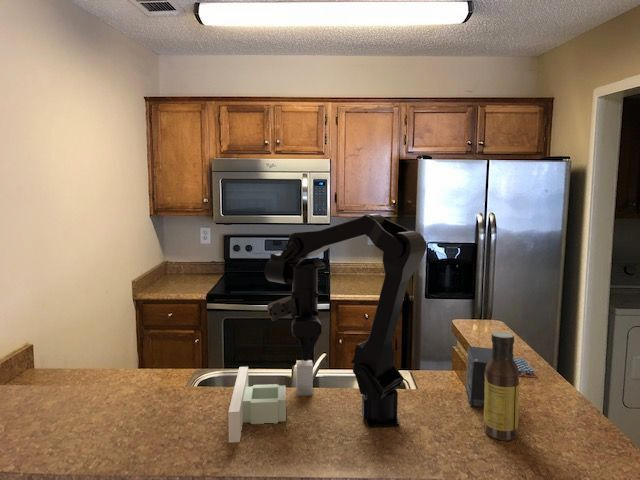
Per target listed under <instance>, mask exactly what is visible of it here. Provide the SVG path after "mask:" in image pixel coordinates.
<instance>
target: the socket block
mask: <svg viewBox="0 0 640 480" xmlns="http://www.w3.org/2000/svg"><path fill="white" fill-rule="evenodd" d="M286 387H287V385H279V384H278V383H277V384H276V383H274V384H268V383H267V384H253V386H249V385H248V387H246V388H245V393H244V398H243V423H250V425H265V424H264V423H274V424H279V422H286V421H287V420H286V419H287V413H286V412H287V409H286V408H287V401H286V400H287V391H286V390H287V388H286Z"/></svg>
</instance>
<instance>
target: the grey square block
mask: <svg viewBox="0 0 640 480" xmlns="http://www.w3.org/2000/svg"><path fill="white" fill-rule="evenodd" d="M313 376H314V363H313V359H309V360H308V361H304V360H303V359H301V360H297V359H296V396H299V397H300V396H301V397H302V396H313V395H314V393H313V391H314V390H313V388H314V387H313V385H314V382H313V381H314V377H313Z"/></svg>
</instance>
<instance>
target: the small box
mask: <svg viewBox="0 0 640 480" xmlns="http://www.w3.org/2000/svg"><path fill="white" fill-rule="evenodd" d="M491 358H492V347H490V348H489V347H481V346H470V345H469V346H468V345H467V363H466V379H465V392H466V395H467V400H468V404H469V407H470V408H479V409H484V386H485V369H486V364H487V363H488V362H489V360H490V359H491Z"/></svg>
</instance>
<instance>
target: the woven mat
mask: <svg viewBox="0 0 640 480" xmlns="http://www.w3.org/2000/svg"><path fill="white" fill-rule="evenodd" d="M513 360H514V362H515V363H516V365H517V367H518V369H519V377H525V378H526V377H531V378H536V377H537V376H536V370H534V368H533V367H532V366H531V365H530V364H529V362H527V360H526V359H525V358H521V357H520V356H519V357H518V358H517V357H516V358H515V357H514V356H513Z"/></svg>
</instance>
